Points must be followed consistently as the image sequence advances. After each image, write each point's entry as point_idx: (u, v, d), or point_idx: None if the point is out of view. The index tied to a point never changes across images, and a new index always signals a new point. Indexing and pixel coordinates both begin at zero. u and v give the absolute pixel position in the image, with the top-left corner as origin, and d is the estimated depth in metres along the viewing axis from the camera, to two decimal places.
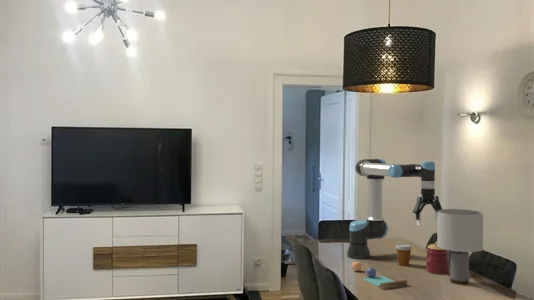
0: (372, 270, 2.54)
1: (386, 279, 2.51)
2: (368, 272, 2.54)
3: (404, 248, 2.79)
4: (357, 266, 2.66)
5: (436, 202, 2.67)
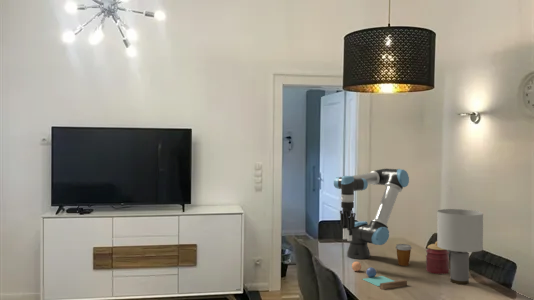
0: (372, 270, 2.54)
1: (386, 279, 2.51)
2: (368, 272, 2.54)
3: (404, 248, 2.79)
4: (357, 266, 2.66)
5: None
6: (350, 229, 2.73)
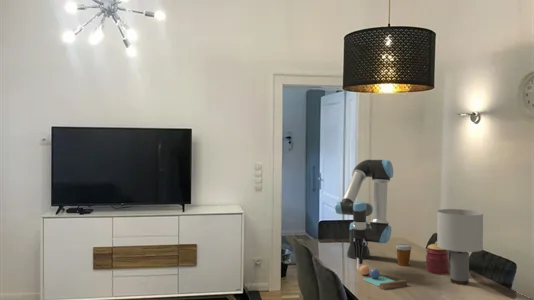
0: (376, 276, 2.51)
1: (386, 279, 2.51)
2: (371, 275, 2.52)
3: (404, 248, 2.79)
4: None
5: None
6: (360, 258, 2.64)
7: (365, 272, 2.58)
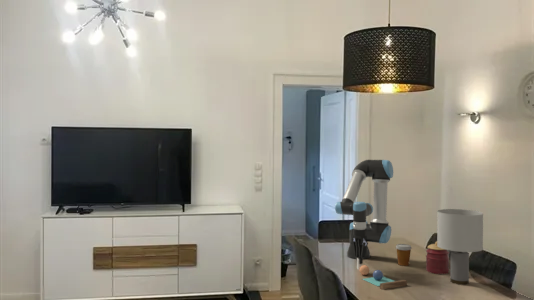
0: None
1: (386, 279, 2.51)
2: (374, 277, 2.50)
3: (404, 248, 2.79)
4: None
5: None
6: (360, 258, 2.64)
7: (365, 272, 2.58)
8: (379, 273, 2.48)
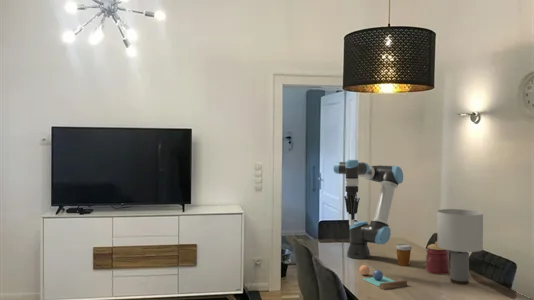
0: None
1: (386, 279, 2.51)
2: (374, 277, 2.50)
3: (404, 248, 2.79)
4: None
5: None
6: (352, 214, 2.71)
7: (365, 272, 2.58)
8: (379, 273, 2.48)
